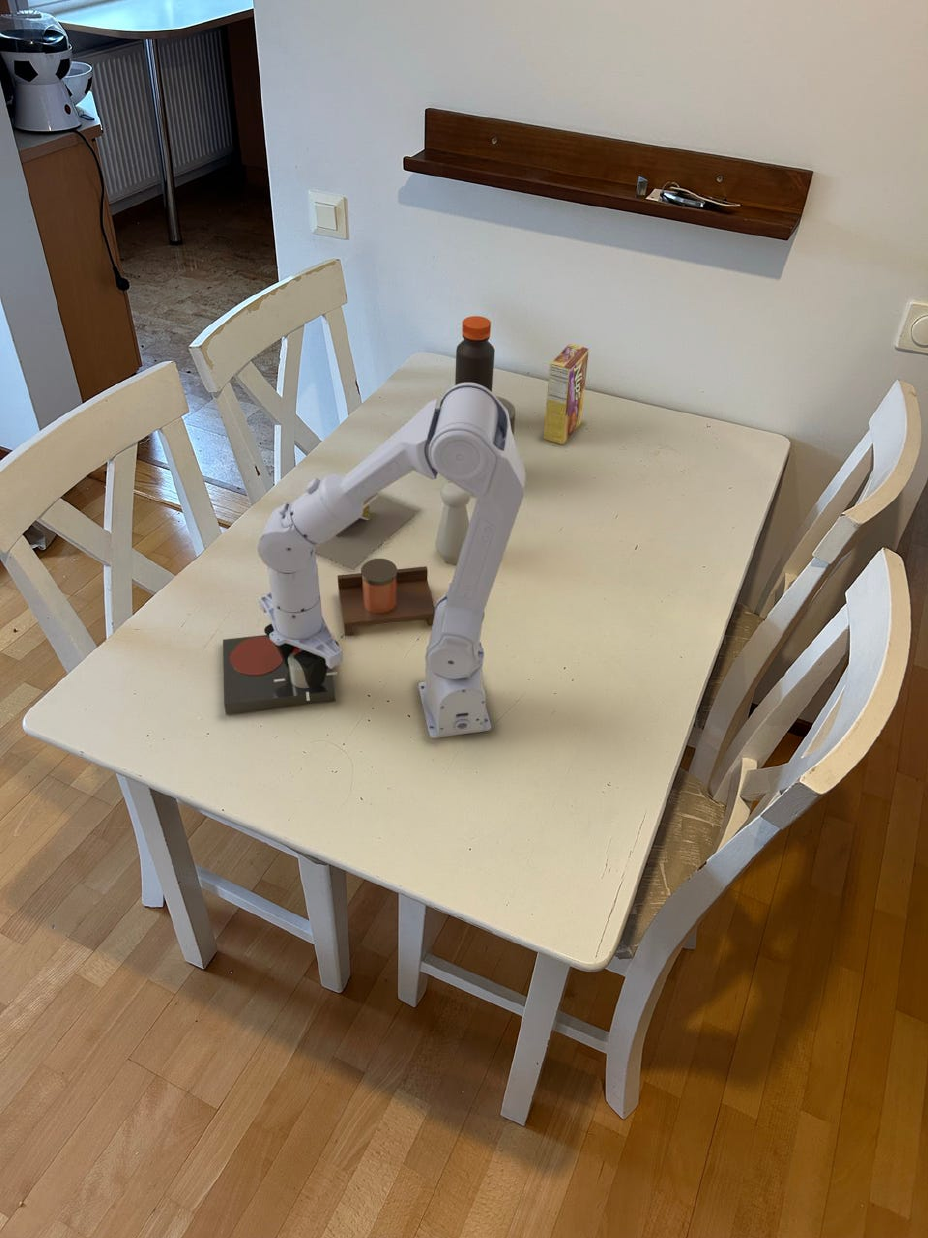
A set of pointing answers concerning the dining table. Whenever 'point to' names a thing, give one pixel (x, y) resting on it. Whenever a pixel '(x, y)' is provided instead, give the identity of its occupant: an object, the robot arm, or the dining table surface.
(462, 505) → the salt shaker
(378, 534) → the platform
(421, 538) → the dining table surface
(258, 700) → the hob
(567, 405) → the candy box
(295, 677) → the hob knob
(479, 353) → the bottle
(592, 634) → the dining table surface
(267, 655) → the disc
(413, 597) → the spice shelf
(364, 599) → the jar
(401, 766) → the dining table surface
